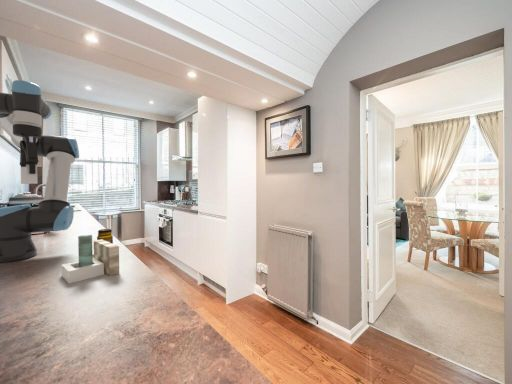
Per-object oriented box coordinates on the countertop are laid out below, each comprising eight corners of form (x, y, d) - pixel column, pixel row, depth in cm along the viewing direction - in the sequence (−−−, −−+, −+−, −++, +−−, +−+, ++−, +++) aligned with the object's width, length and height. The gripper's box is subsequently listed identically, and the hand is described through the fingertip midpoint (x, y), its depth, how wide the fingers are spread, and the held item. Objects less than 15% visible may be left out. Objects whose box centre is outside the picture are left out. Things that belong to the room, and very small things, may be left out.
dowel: (77, 274, 82) (76, 236, 82) (90, 271, 85) (90, 234, 85) (80, 277, 80) (80, 237, 79) (94, 274, 83) (93, 235, 83)
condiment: (114, 256, 104) (113, 230, 104) (91, 259, 100) (90, 232, 99) (113, 252, 110) (113, 227, 110) (92, 255, 106) (91, 229, 106)
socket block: (61, 276, 81) (61, 264, 81) (94, 268, 89) (94, 258, 89) (68, 283, 75) (68, 271, 75) (104, 274, 83) (103, 263, 82)
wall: (93, 265, 92) (93, 240, 92) (102, 263, 94) (102, 239, 94) (110, 275, 82) (109, 247, 81) (119, 273, 84) (118, 246, 84)
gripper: (8, 129, 89) (10, 183, 89) (17, 116, 73) (18, 183, 74) (35, 132, 95) (36, 184, 95) (48, 122, 79) (49, 183, 79)
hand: (28, 183), depth 84 cm, fingers open, 13 cm apart
